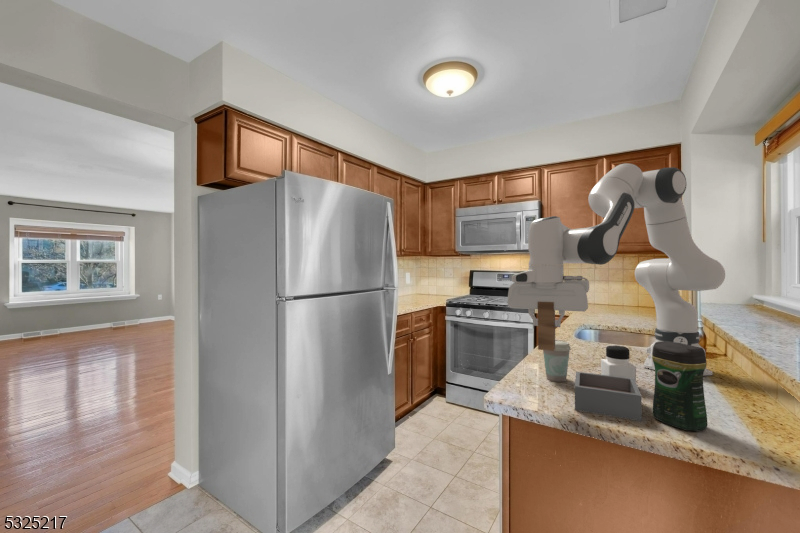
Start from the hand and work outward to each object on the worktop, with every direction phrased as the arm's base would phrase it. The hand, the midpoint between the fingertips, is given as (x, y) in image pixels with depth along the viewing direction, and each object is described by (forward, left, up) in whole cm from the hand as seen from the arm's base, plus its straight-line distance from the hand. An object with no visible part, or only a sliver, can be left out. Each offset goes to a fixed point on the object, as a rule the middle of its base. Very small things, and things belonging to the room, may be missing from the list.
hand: (546, 326), depth 95 cm
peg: (0, 0, -6) cm, 6 cm away
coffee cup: (-20, +1, -20) cm, 28 cm away
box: (-3, +14, -20) cm, 25 cm away
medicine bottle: (-22, +18, -20) cm, 35 cm away
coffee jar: (+1, +28, -20) cm, 35 cm away
